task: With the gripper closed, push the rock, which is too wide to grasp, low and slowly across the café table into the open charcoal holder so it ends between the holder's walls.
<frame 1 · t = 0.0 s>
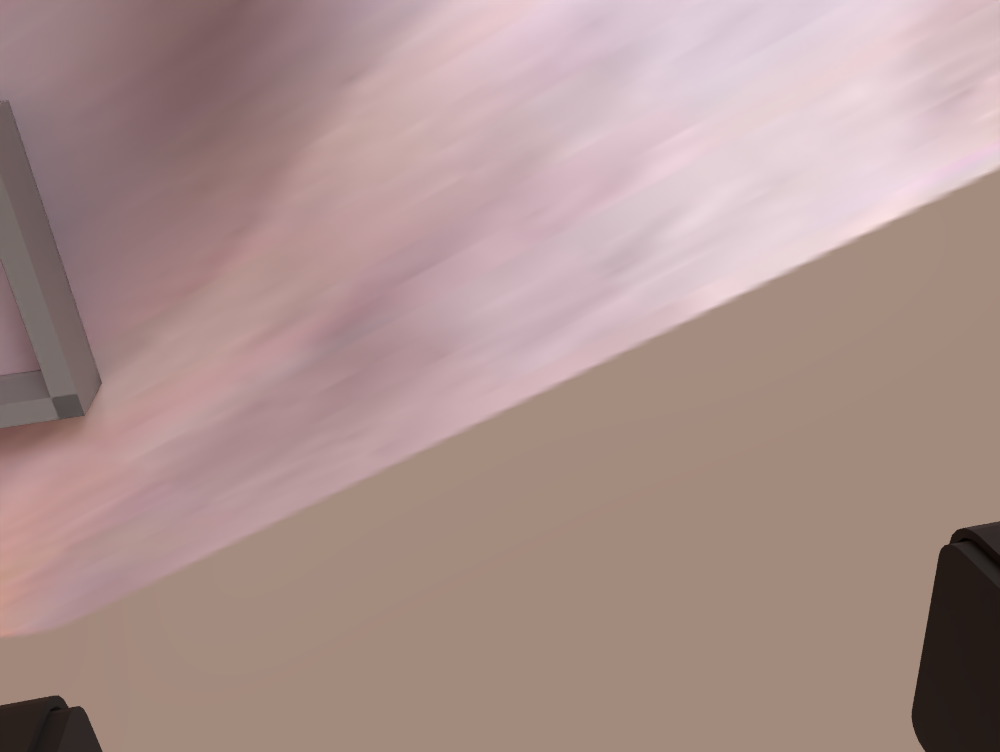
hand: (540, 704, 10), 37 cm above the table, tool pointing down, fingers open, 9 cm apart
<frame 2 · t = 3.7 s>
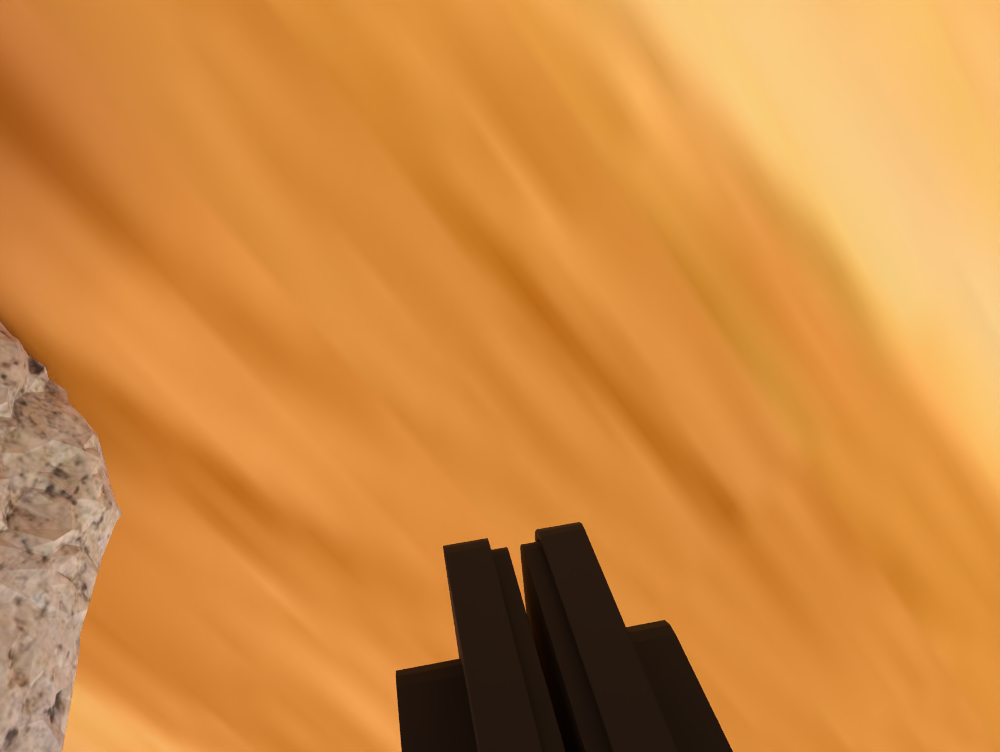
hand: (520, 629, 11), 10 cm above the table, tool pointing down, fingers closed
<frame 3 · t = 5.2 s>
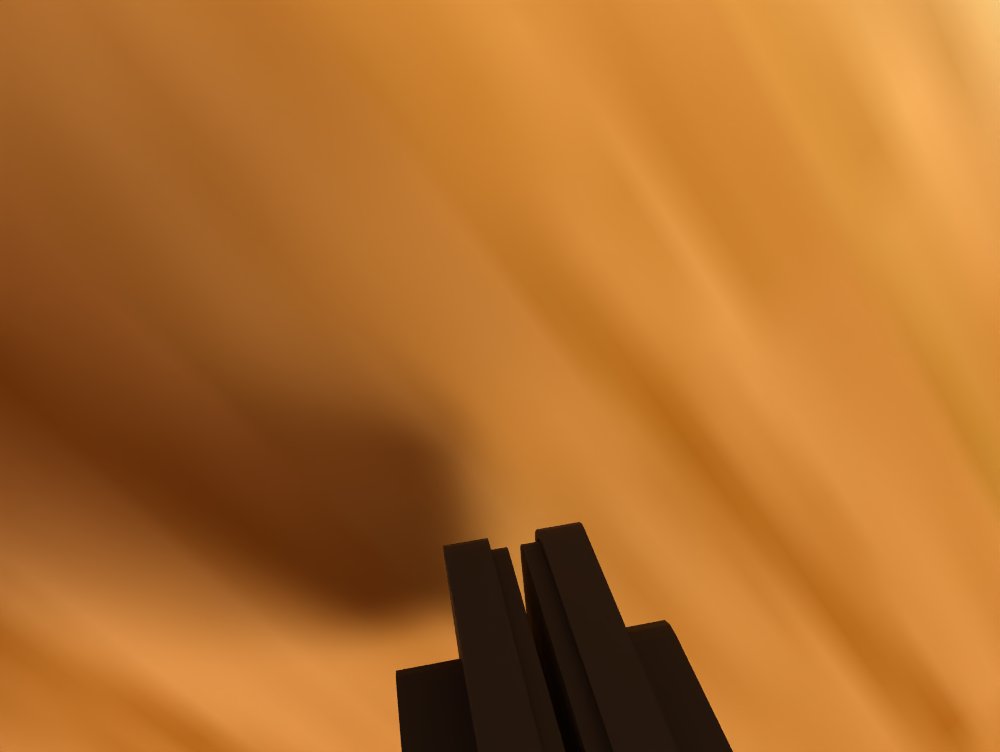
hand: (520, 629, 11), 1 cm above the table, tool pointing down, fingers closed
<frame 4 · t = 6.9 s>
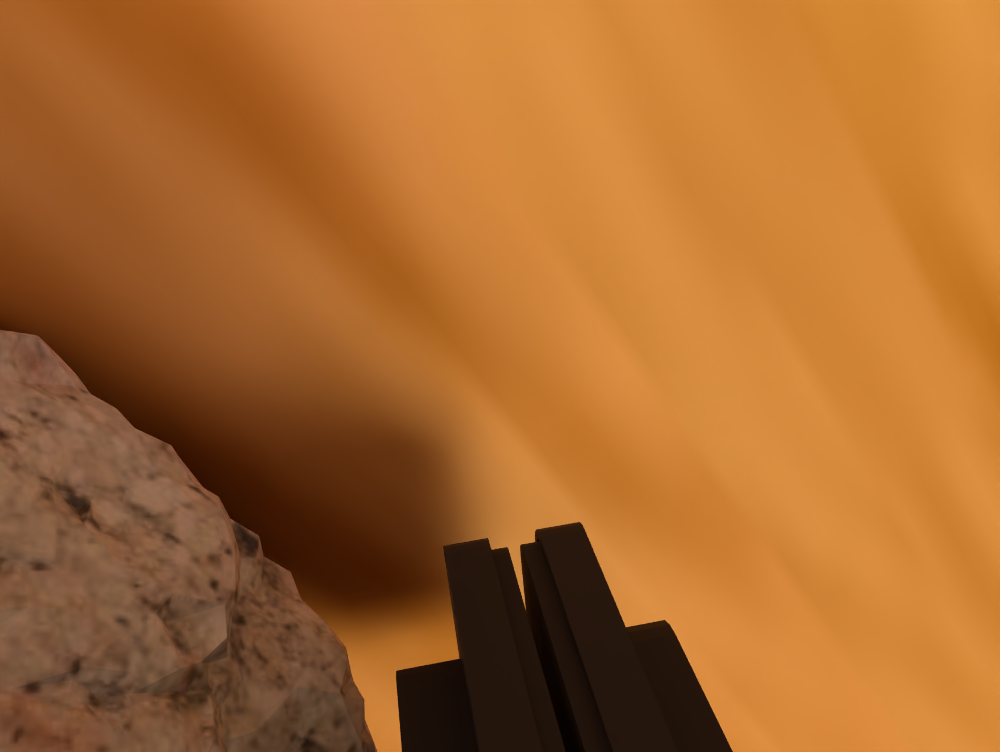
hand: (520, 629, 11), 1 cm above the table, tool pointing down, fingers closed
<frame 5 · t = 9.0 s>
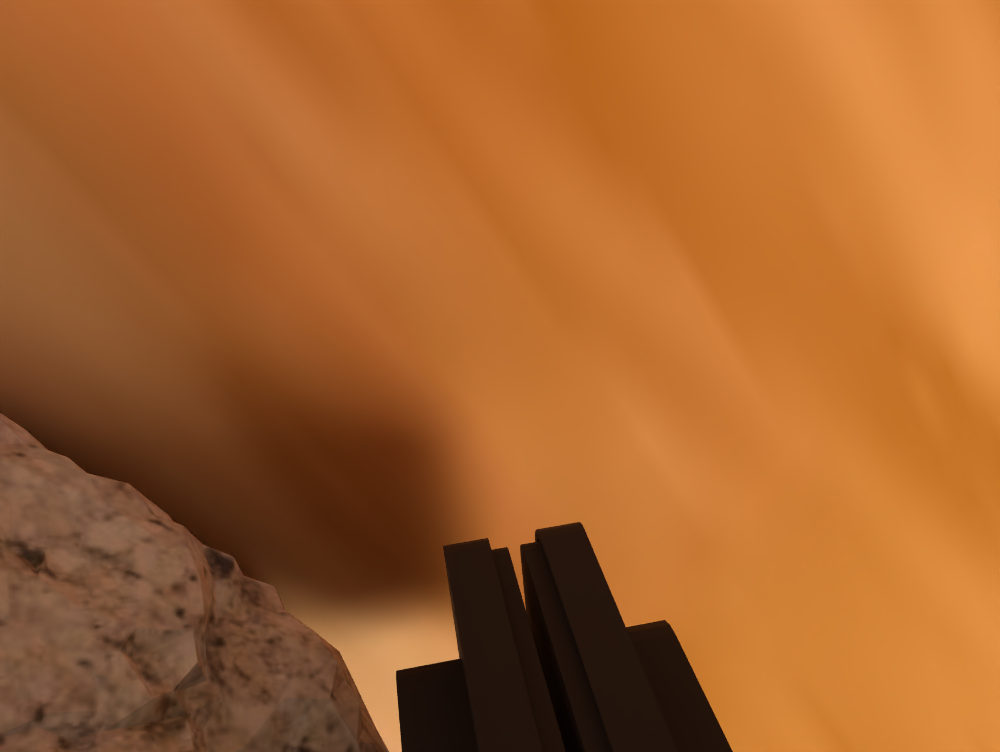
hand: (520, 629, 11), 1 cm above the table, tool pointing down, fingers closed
rock: (10, 702, 12), on the table, touching gripper
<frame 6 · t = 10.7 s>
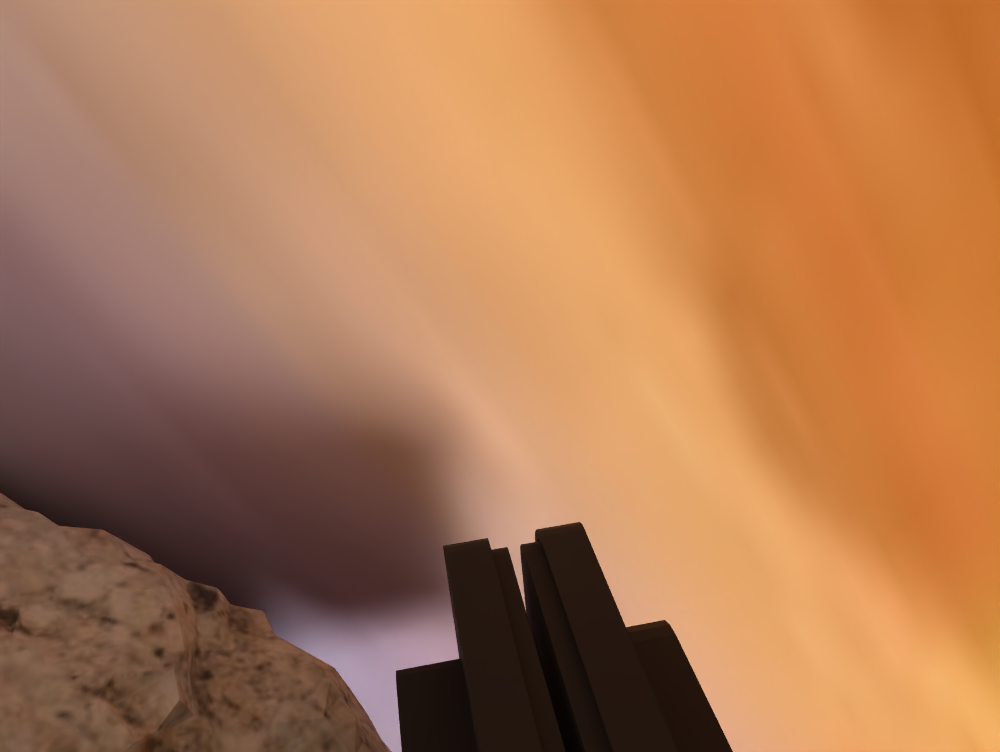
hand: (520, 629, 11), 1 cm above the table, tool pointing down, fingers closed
rock: (42, 748, 12), on the table, touching gripper
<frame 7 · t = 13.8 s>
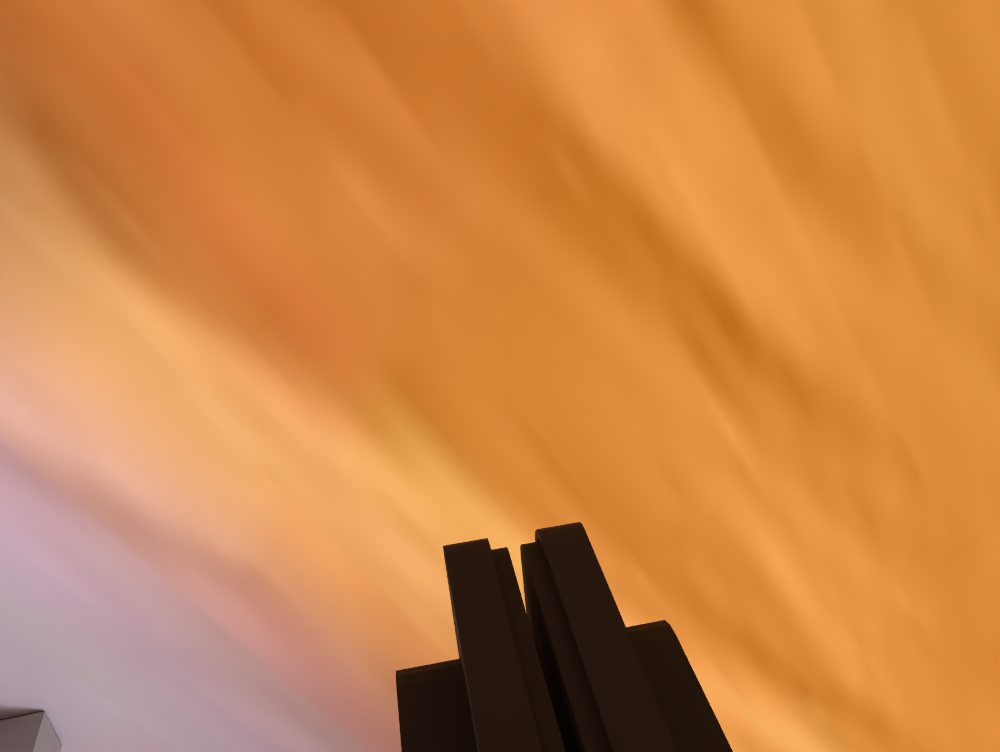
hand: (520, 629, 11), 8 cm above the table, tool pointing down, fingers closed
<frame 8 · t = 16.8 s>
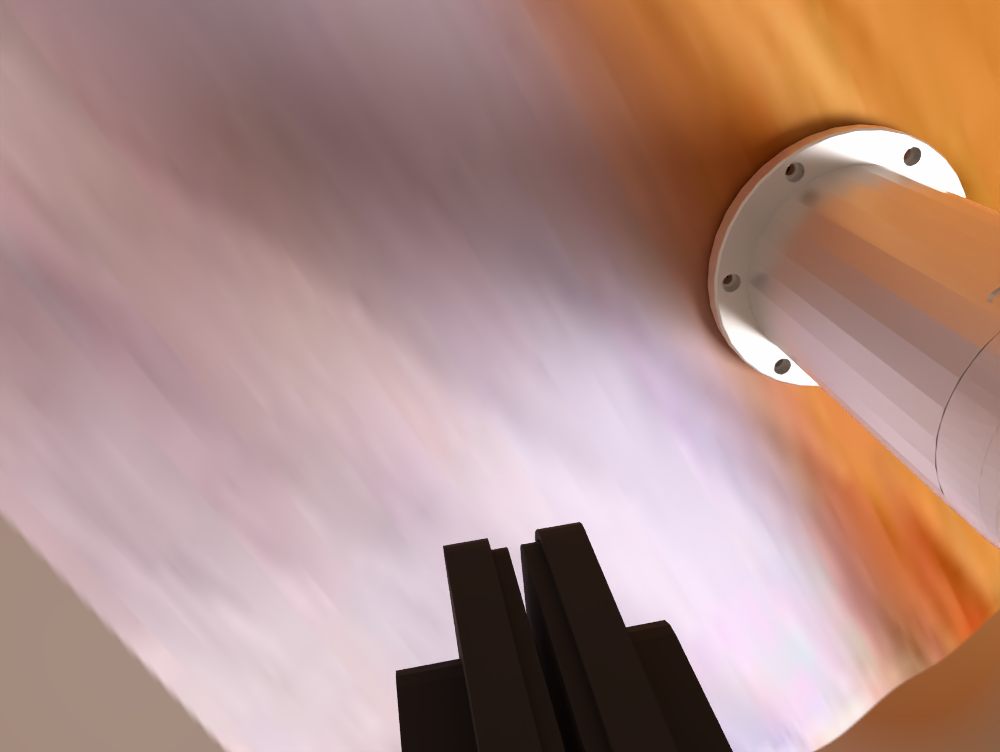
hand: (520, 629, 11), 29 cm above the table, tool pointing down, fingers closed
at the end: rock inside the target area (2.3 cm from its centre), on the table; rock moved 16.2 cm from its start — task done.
